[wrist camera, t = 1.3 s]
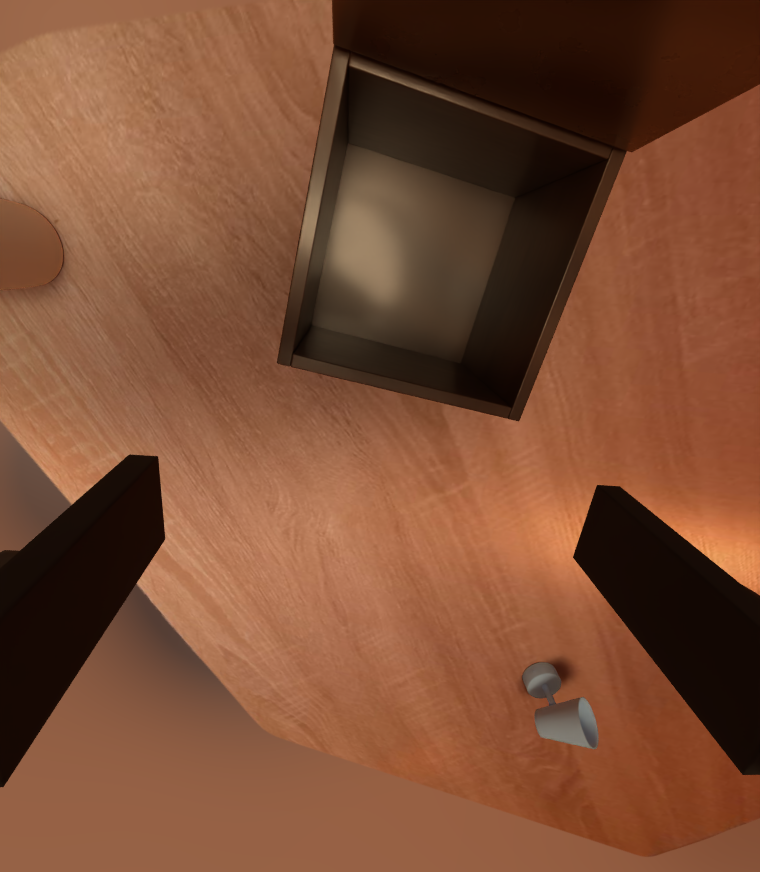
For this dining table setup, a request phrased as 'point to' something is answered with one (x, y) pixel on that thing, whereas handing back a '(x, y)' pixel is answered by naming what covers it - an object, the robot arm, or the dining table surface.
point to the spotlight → (560, 709)
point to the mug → (27, 247)
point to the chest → (438, 238)
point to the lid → (570, 56)
